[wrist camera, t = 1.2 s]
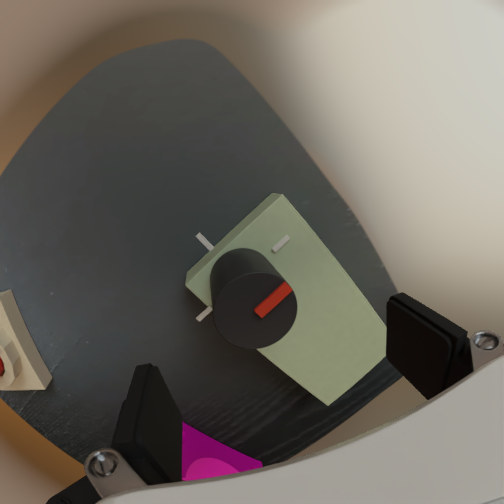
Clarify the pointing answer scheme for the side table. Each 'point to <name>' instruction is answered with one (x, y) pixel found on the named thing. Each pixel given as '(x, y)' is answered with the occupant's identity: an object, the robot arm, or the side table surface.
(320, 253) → the dial panel
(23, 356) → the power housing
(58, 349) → the side table surface
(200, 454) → the toy block
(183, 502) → the robot arm
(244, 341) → the timer dial
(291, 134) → the side table surface
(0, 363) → the power button
